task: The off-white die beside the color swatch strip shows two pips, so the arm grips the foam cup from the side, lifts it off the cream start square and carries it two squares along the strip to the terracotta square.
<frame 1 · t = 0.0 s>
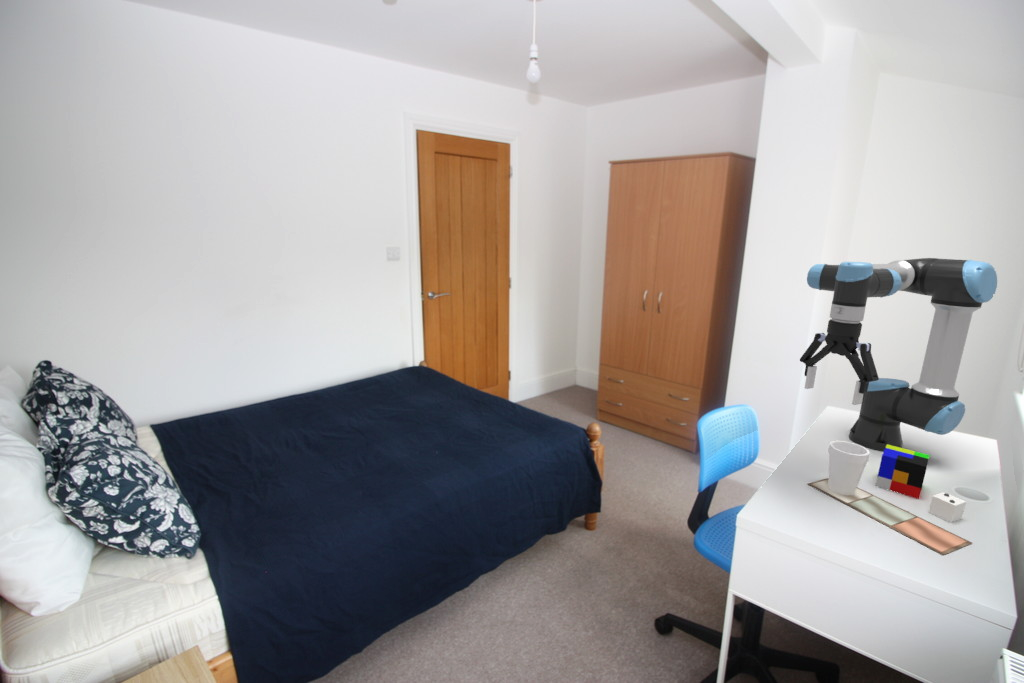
hand: (831, 395, 136), 28 cm above the table, tool pointing down, fingers open, 13 cm apart
die: (944, 515, 130), on the table
color swatch strip: (881, 511, 131), on the table
puzzle toy: (898, 486, 144), on the table
foam cup: (840, 490, 141), resting on color swatch strip
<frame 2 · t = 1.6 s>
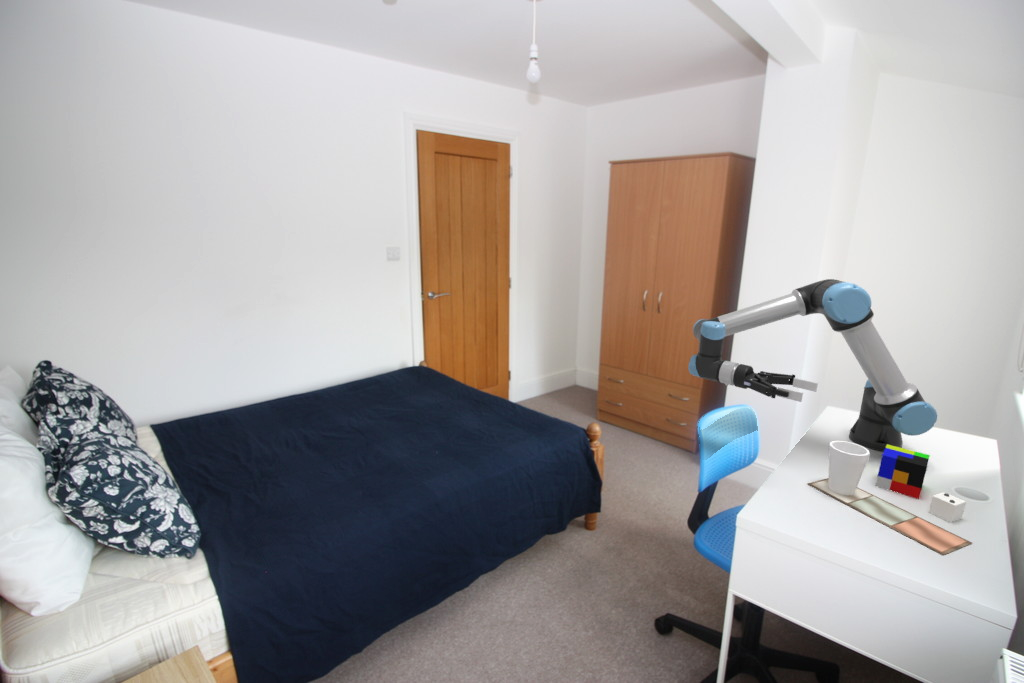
hand: (809, 392, 145), 26 cm above the table, tool horizontal, fingers open, 13 cm apart
nothing on the table moved.
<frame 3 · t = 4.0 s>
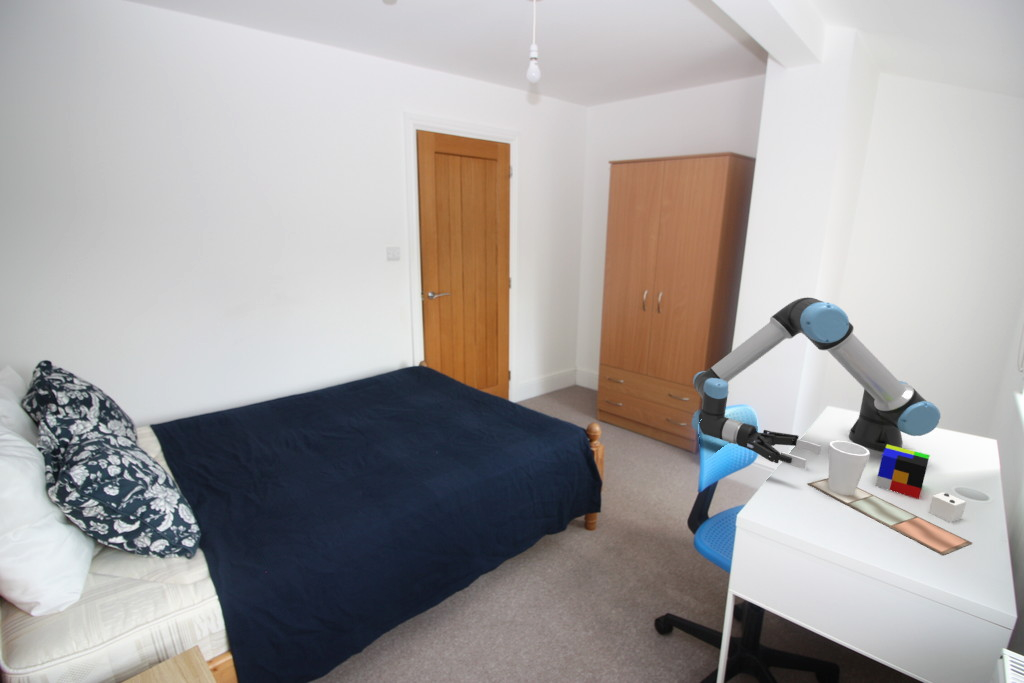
hand: (812, 456, 145), 7 cm above the table, tool horizontal, fingers open, 13 cm apart
nothing on the table moved.
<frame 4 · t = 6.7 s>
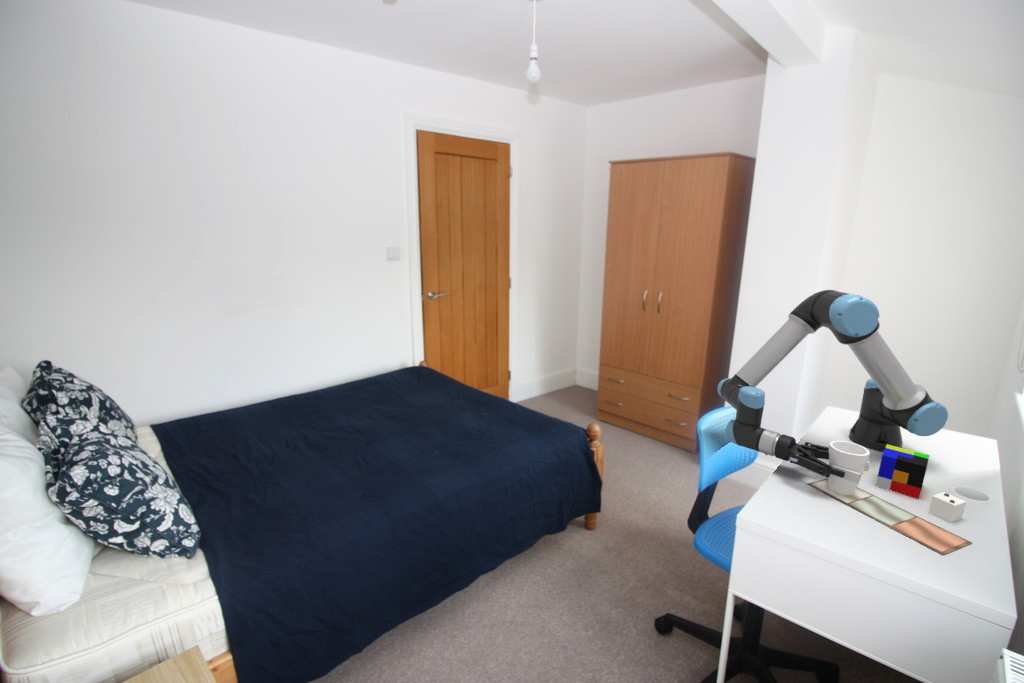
hand: (864, 472, 136), 7 cm above the table, tool horizontal, fingers closed on foam cup, 9 cm apart
foam cup: (840, 490, 141), resting on color swatch strip, touching gripper
everything else where it was.
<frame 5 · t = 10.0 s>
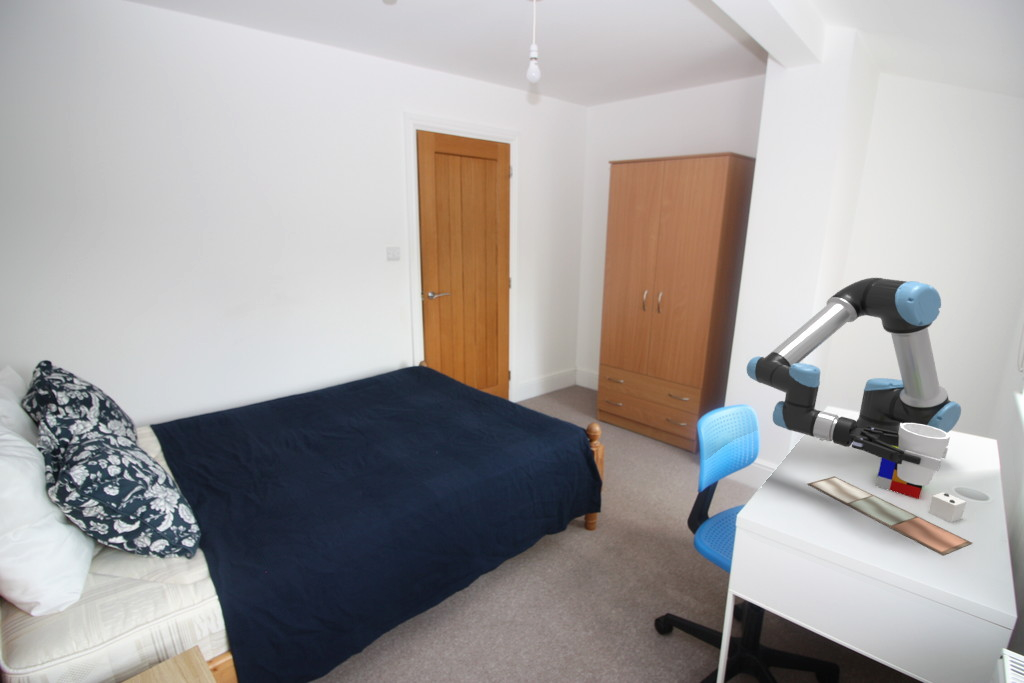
hand: (942, 459, 118), 20 cm above the table, tool horizontal, fingers closed on foam cup, 9 cm apart
foam cup: (912, 479, 123), point 13 cm above the table, touching gripper
everything else where it was.
when the fingers open (9 cm above the table, at t = 13.7 s): foam cup drops 1 cm, resting on color swatch strip.
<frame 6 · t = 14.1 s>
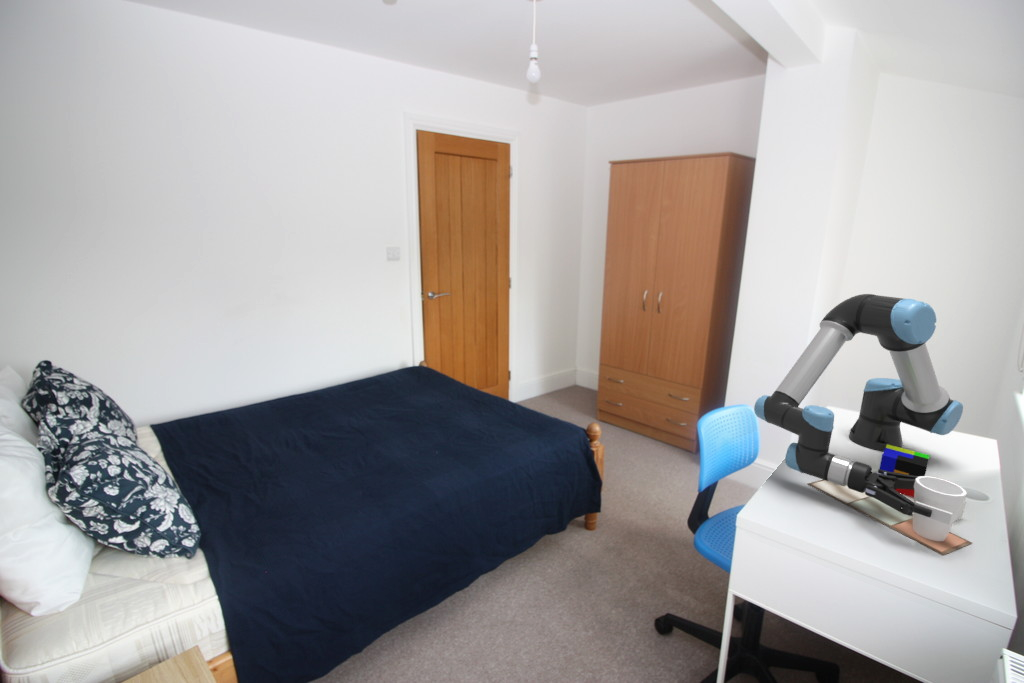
hand: (954, 508, 117), 9 cm above the table, tool horizontal, fingers open, 13 cm apart
foam cup: (928, 534, 122), resting on color swatch strip
everything else where it was.
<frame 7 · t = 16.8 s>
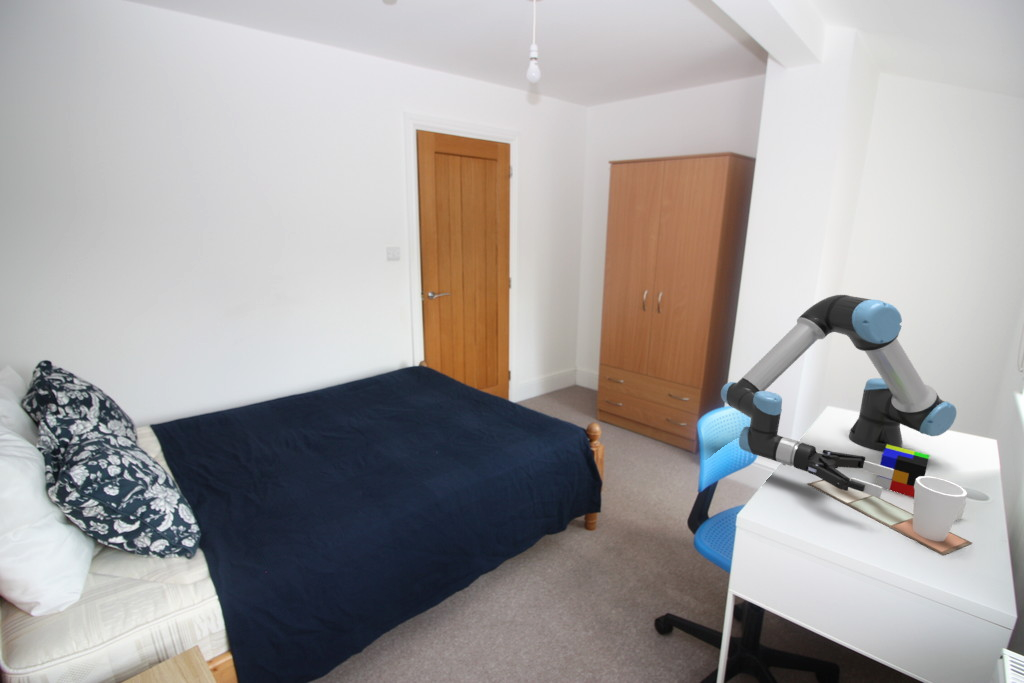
hand: (887, 483, 126), 10 cm above the table, tool horizontal, fingers open, 13 cm apart
nothing on the table moved.
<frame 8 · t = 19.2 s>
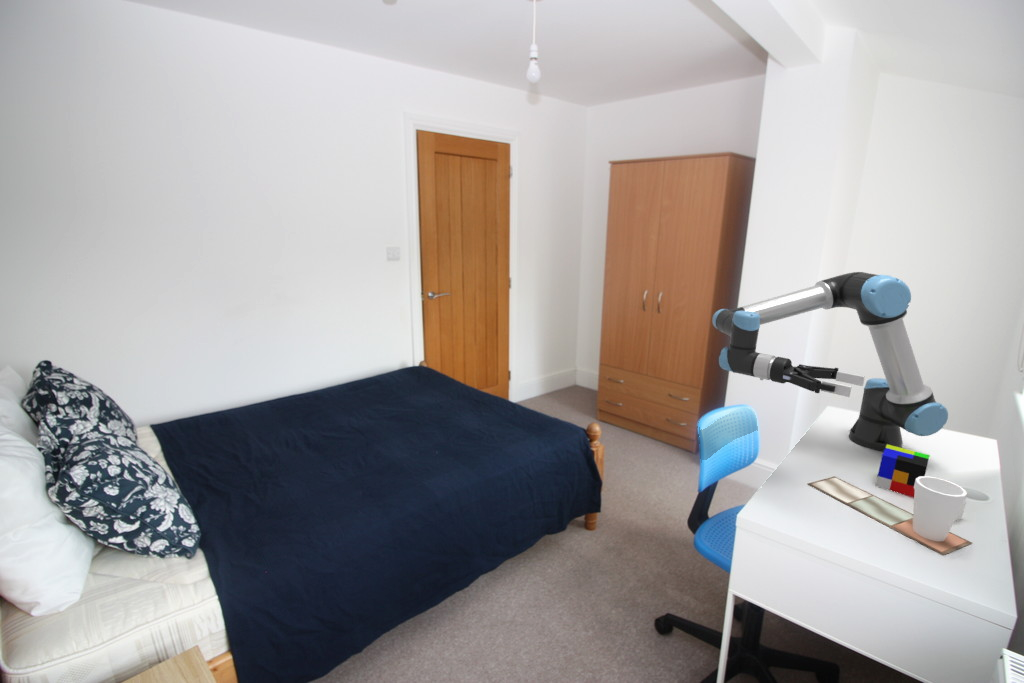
hand: (857, 386, 132), 32 cm above the table, tool horizontal, fingers open, 13 cm apart
nothing on the table moved.
at the end: foam cup inside the target area (0.1 cm from its centre), resting on color swatch strip; foam cup tilted 0°; the gripper is holding nothing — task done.
